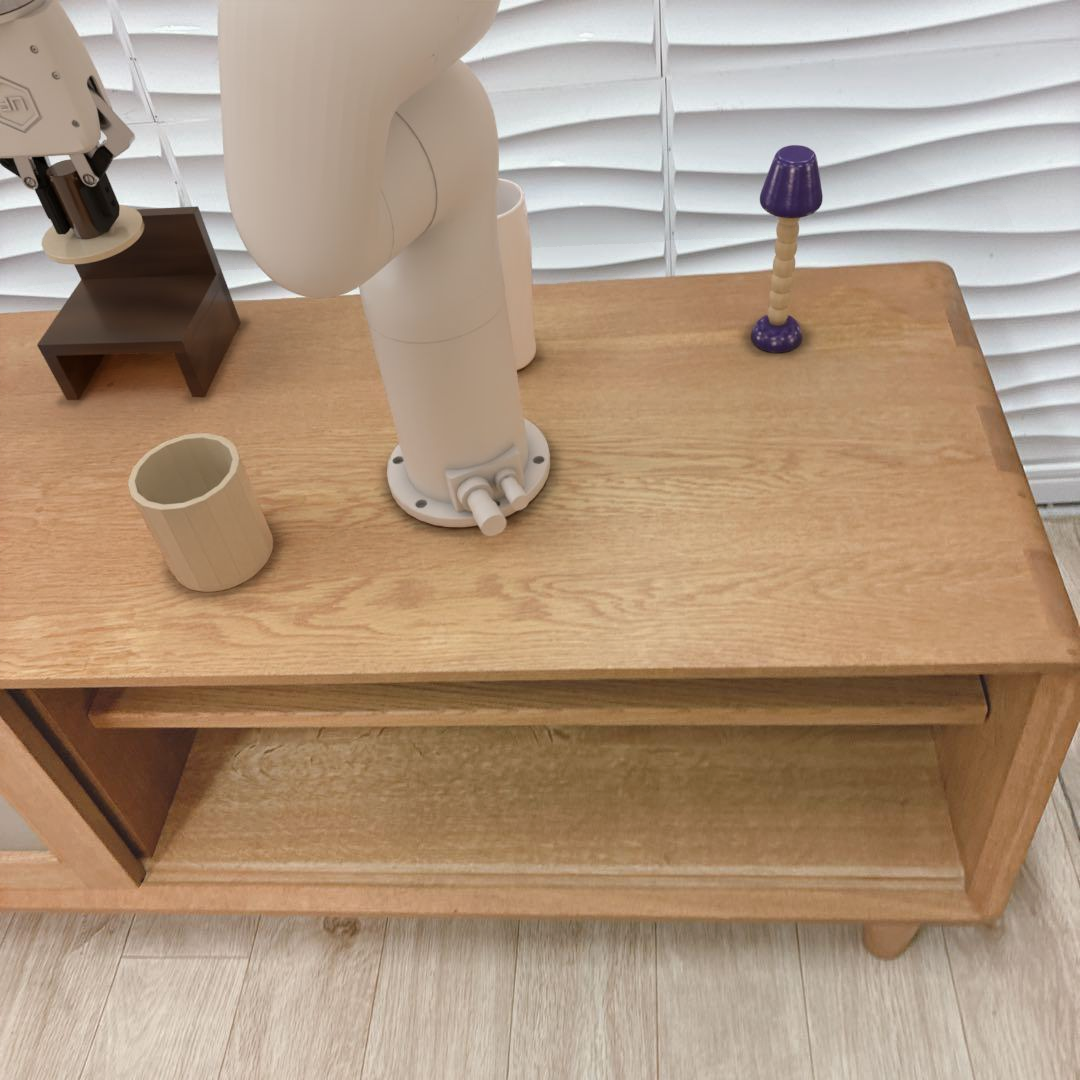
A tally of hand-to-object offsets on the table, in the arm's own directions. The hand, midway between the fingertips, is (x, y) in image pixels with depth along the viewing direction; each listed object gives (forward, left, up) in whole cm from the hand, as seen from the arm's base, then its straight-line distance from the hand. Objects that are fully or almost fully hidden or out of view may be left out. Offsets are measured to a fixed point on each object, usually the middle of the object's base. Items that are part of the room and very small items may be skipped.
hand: (88, 222), depth 88 cm
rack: (0, 0, -14) cm, 14 cm away
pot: (-27, -1, -14) cm, 31 cm away
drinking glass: (-16, -28, -14) cm, 36 cm away
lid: (0, 0, -1) cm, 1 cm away
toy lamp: (-26, -49, -14) cm, 58 cm away
